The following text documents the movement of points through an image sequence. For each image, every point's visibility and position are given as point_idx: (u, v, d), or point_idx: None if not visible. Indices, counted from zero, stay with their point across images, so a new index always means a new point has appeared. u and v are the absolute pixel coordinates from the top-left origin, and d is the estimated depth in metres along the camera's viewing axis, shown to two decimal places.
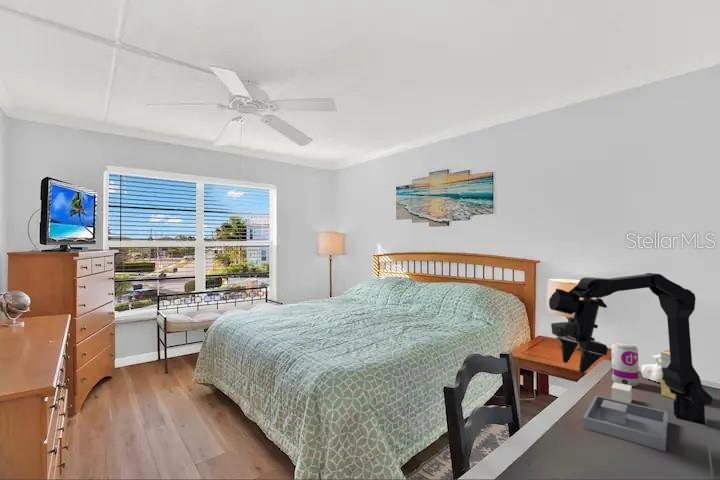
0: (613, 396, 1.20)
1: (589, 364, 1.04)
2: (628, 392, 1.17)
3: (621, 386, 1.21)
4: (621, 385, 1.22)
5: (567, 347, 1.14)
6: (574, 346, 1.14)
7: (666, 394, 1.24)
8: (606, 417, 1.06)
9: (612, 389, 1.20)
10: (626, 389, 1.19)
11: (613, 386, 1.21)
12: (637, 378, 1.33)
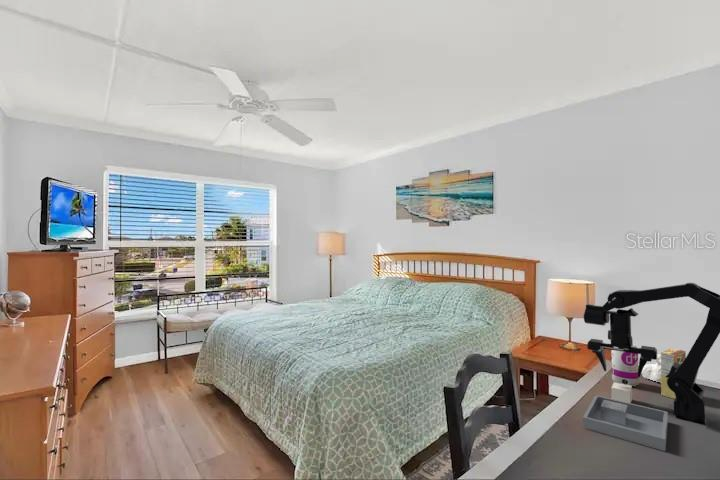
0: (613, 396, 1.20)
1: None
2: (628, 392, 1.17)
3: (621, 386, 1.21)
4: (621, 385, 1.22)
5: None
6: (639, 361, 1.16)
7: (666, 394, 1.24)
8: (606, 417, 1.06)
9: (612, 389, 1.20)
10: (626, 389, 1.19)
11: (613, 386, 1.21)
12: (637, 378, 1.33)
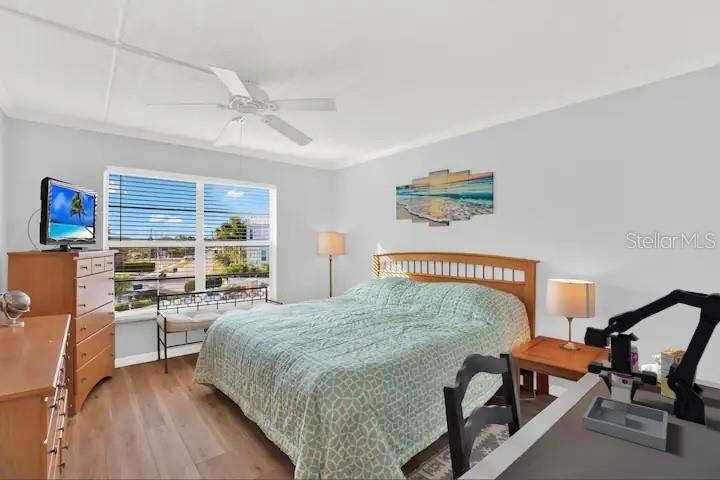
0: (613, 396, 1.20)
1: None
2: (628, 392, 1.17)
3: (620, 385, 1.21)
4: (621, 385, 1.22)
5: None
6: (632, 385, 1.17)
7: (666, 394, 1.24)
8: (606, 417, 1.06)
9: (612, 389, 1.20)
10: (626, 388, 1.19)
11: (613, 386, 1.21)
12: None
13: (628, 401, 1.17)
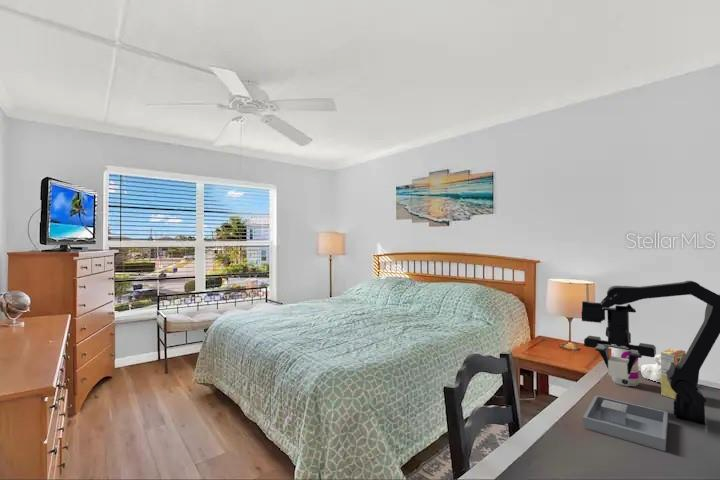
0: (610, 369, 1.17)
1: None
2: (625, 364, 1.14)
3: (618, 359, 1.18)
4: (619, 358, 1.19)
5: None
6: (629, 358, 1.14)
7: (666, 394, 1.24)
8: (606, 417, 1.06)
9: (609, 362, 1.17)
10: (623, 362, 1.15)
11: (610, 359, 1.18)
12: (637, 378, 1.33)
13: (625, 374, 1.14)
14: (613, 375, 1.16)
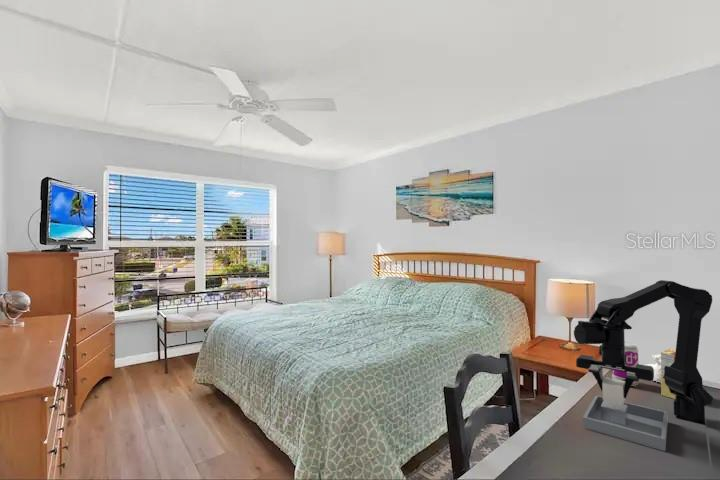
0: (604, 393, 1.07)
1: None
2: (621, 388, 1.04)
3: (613, 381, 1.08)
4: (614, 380, 1.09)
5: None
6: (625, 381, 1.04)
7: (666, 394, 1.24)
8: (606, 417, 1.06)
9: (603, 385, 1.07)
10: (618, 385, 1.05)
11: (604, 381, 1.08)
12: None
13: (621, 399, 1.04)
14: (608, 399, 1.06)
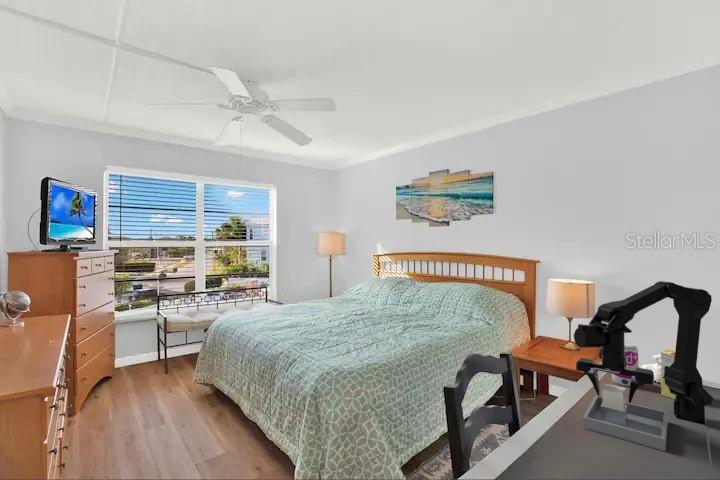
0: (604, 399, 1.07)
1: None
2: (621, 395, 1.04)
3: (613, 388, 1.08)
4: (614, 387, 1.09)
5: None
6: (630, 385, 1.03)
7: (666, 394, 1.24)
8: (606, 417, 1.06)
9: (603, 392, 1.07)
10: (618, 391, 1.05)
11: (604, 388, 1.08)
12: None
13: (621, 406, 1.04)
14: (608, 406, 1.06)
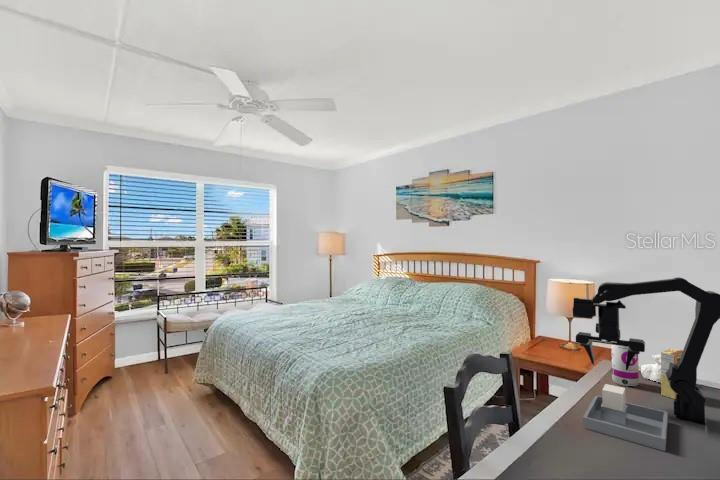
0: (604, 399, 1.07)
1: None
2: (621, 395, 1.04)
3: (613, 388, 1.08)
4: (614, 387, 1.09)
5: None
6: (627, 354, 1.15)
7: (666, 394, 1.24)
8: (606, 417, 1.06)
9: (603, 392, 1.07)
10: (618, 391, 1.05)
11: (604, 388, 1.08)
12: (637, 378, 1.33)
13: (621, 406, 1.04)
14: (608, 406, 1.06)
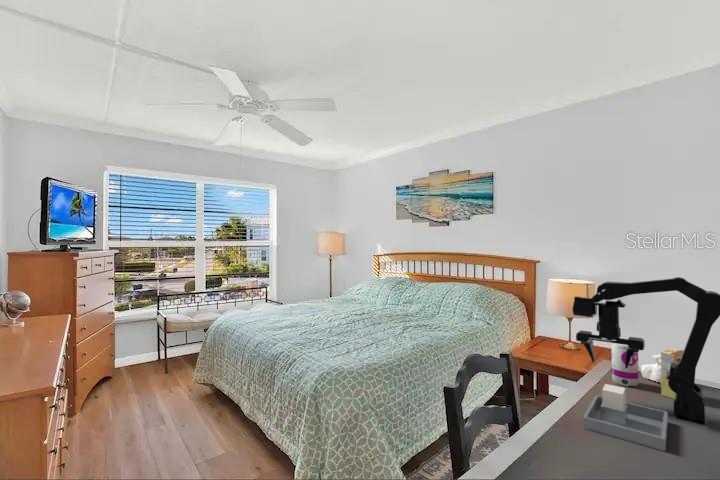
0: (604, 399, 1.07)
1: None
2: (621, 395, 1.04)
3: (613, 388, 1.08)
4: (614, 387, 1.09)
5: None
6: None
7: (666, 394, 1.24)
8: (606, 417, 1.06)
9: (603, 392, 1.07)
10: (618, 391, 1.05)
11: (604, 388, 1.08)
12: (637, 378, 1.33)
13: (621, 406, 1.04)
14: (608, 406, 1.06)
